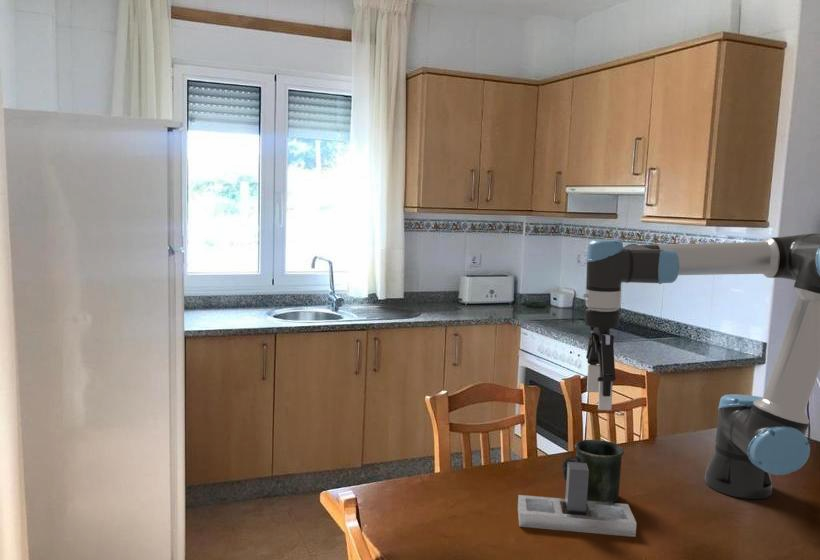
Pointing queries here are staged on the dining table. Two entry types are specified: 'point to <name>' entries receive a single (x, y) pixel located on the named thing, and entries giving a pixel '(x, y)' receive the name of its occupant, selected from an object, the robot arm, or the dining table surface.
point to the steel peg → (576, 488)
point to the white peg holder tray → (576, 516)
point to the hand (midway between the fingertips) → (598, 400)
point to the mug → (599, 468)
